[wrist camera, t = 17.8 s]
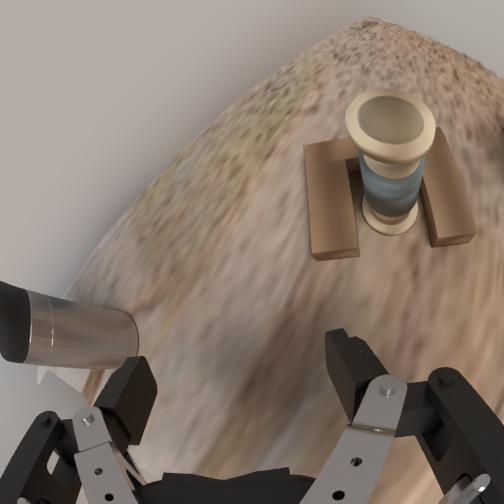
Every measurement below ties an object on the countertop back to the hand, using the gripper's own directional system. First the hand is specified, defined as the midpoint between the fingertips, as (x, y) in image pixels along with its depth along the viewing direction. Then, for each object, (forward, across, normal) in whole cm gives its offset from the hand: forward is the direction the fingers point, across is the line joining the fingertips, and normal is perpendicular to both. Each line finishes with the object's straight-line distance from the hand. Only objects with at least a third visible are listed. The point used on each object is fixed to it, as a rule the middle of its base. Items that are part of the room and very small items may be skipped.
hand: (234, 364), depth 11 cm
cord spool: (+16, -17, -3) cm, 24 cm away
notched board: (+17, -17, -4) cm, 24 cm away
